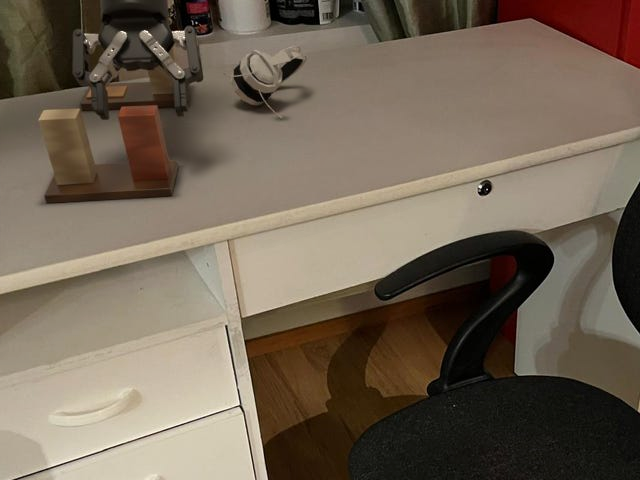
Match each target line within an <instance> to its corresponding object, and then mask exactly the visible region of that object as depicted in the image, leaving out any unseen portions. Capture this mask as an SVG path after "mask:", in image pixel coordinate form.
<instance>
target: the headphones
mask: <svg viewBox="0 0 640 480" xmlns="http://www.w3.org/2000/svg"><path fill="white" fill-rule="evenodd" d="M286 51H288V52H286ZM301 51H302V49H301V46H299V45H293V46H290V47H287V48H282V49H281V50H280V51H278V52H277V53H276V54H275V55H273V56H272V55H270V54H268V53H266V52H264V51H262V50H257V49H253V50H251V51H250V52H249V53H247V54H246V55H245V56H244V57H243V58H241V59H240V61H239V64H238V65H237V66H235V68H234V69H232V71H231V74H230V75H228V74H226V73H223V75H224V76H226V77H229V78H230V81H229V82H230V83H229V84H230V85H231V87H232V89H233V92H234V93H235V94H236V95H237V96H238V97H239V98H240V100H241V101H243V102H245V103H247V104H249V105H251V106H256V107H257V106H261V105H262V104H264V103H265V104H266V106H267V107H268V108H269V109H270V110H271V111H272V112H273V113H274V114H275V115H277V117H278V118H280V119H283V116H281V115H279V114H278V113H277V112H276V111H275V110H274V109H273V108H272V107H271V106H270V105H269V104H268V102H267V101H268V100H269V99H270V98H271V97H272V94H274V93H275V91H277V89H278V88H280V86H281V84H283V83H284V82H286V81H287V80H289V79H290V78H291V77H292V76H294V75H295V74H296V73H297V72H298V71H299V70H301V68H302V67H303V66H304V65H305V64H306V62H307V55H306V54H301ZM289 54H290V55H289ZM280 65H281V66H280Z"/></svg>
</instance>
